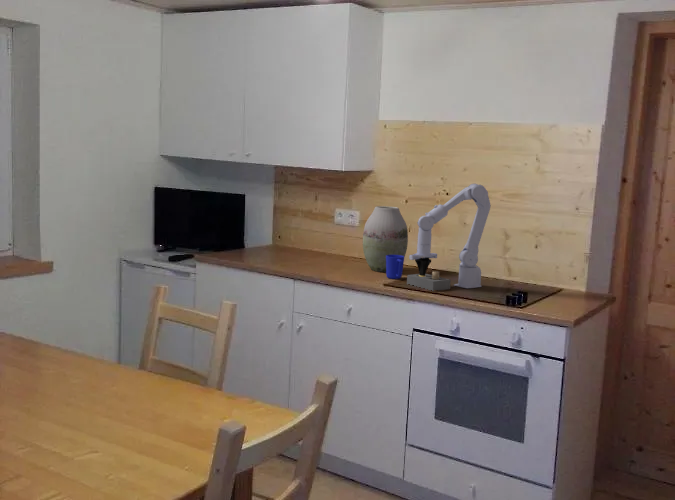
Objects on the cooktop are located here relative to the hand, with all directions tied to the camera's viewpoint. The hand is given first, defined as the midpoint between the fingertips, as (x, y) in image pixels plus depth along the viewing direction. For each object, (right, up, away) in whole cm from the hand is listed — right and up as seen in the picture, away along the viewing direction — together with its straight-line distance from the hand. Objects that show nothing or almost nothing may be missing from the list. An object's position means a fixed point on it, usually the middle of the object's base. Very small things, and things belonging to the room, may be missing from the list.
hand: (422, 275), depth 312 cm
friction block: (+2, -5, -3) cm, 6 cm away
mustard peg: (0, -4, +1) cm, 4 cm away
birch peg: (+5, -2, -6) cm, 8 cm away
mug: (-11, -2, +13) cm, 17 cm away
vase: (-14, +1, +34) cm, 37 cm away
